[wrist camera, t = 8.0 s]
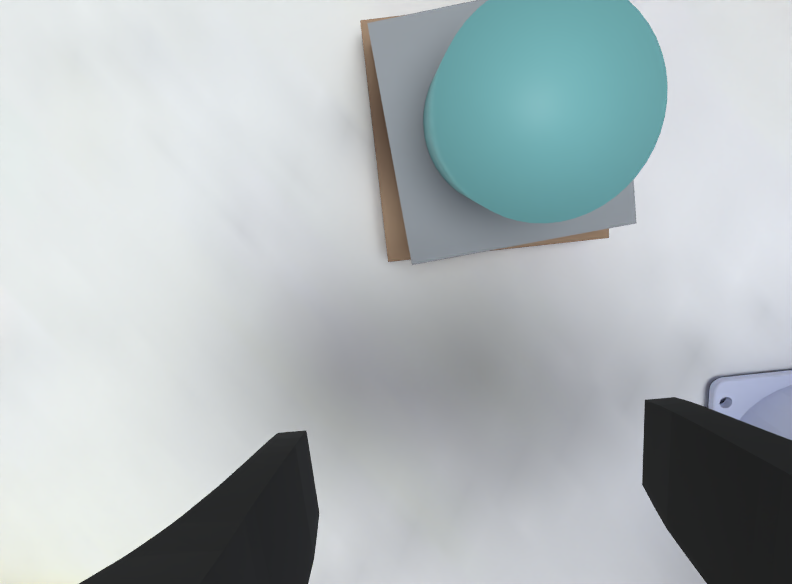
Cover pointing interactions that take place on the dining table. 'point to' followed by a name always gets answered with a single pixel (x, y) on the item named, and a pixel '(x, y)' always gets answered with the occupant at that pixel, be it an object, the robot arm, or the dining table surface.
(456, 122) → the teal cylinder
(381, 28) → the grey flat square block
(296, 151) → the dining table surface
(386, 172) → the walnut slab
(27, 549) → the dining table surface
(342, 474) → the dining table surface
